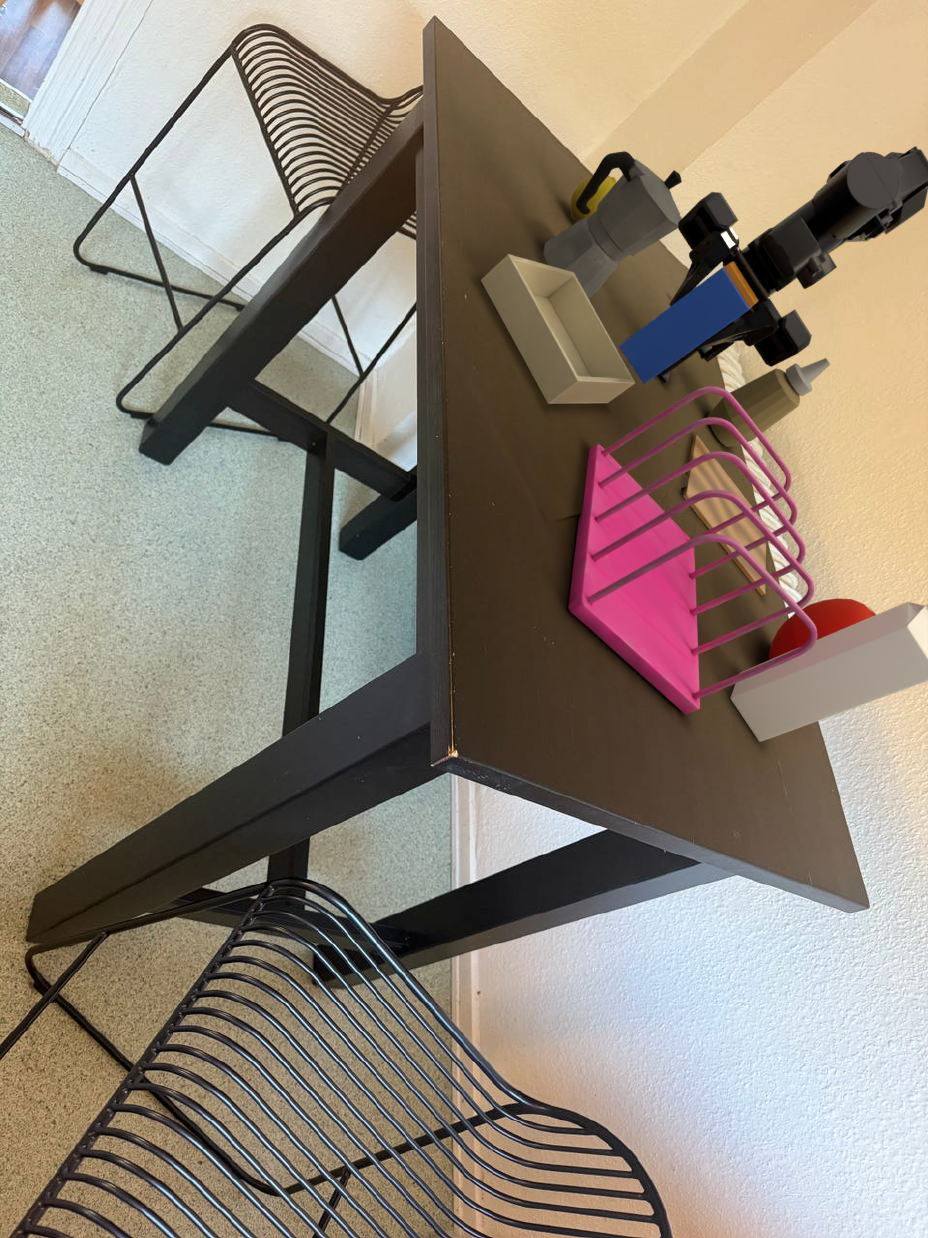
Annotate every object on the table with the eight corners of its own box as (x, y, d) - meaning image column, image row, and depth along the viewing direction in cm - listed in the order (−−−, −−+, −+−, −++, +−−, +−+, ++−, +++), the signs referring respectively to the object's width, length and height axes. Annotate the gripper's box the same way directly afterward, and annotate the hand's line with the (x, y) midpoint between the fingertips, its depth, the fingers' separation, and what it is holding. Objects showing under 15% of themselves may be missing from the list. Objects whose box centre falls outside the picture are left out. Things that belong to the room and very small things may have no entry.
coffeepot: (585, 275, 114) (697, 181, 104) (600, 324, 110) (718, 231, 99) (511, 214, 104) (627, 102, 93) (525, 265, 100) (648, 154, 89)
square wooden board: (693, 436, 118) (696, 434, 118) (763, 527, 123) (766, 525, 123) (682, 496, 104) (686, 494, 104) (761, 596, 109) (765, 594, 109)
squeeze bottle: (733, 440, 132) (841, 374, 121) (730, 461, 126) (844, 393, 115) (704, 401, 130) (812, 330, 119) (700, 420, 123) (813, 347, 113)
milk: (738, 672, 93) (939, 585, 80) (767, 715, 93) (971, 636, 81) (728, 699, 88) (942, 610, 75) (759, 744, 89) (976, 664, 76)
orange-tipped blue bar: (626, 340, 93) (733, 259, 85) (651, 377, 94) (760, 300, 86) (618, 346, 90) (728, 262, 82) (643, 384, 91) (755, 305, 83)
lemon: (583, 240, 120) (627, 200, 116) (558, 210, 118) (602, 169, 113) (584, 225, 124) (627, 187, 120) (561, 196, 122) (603, 156, 117)
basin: (544, 297, 100) (573, 271, 97) (604, 405, 98) (635, 383, 96) (476, 283, 87) (508, 253, 85) (544, 406, 86) (578, 380, 84)
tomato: (801, 740, 98) (923, 696, 89) (747, 678, 94) (869, 627, 86) (796, 669, 107) (906, 624, 99) (747, 611, 103) (857, 559, 95)
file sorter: (680, 550, 96) (806, 480, 87) (684, 717, 79) (842, 652, 69) (585, 450, 89) (711, 363, 80) (566, 610, 71) (725, 522, 62)
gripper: (790, 127, 80) (669, 213, 78) (890, 290, 82) (776, 378, 80) (731, 184, 91) (624, 261, 89) (821, 327, 93) (719, 405, 91)
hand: (685, 325), depth 87 cm, fingers closed on orange-tipped blue bar, 5 cm apart
